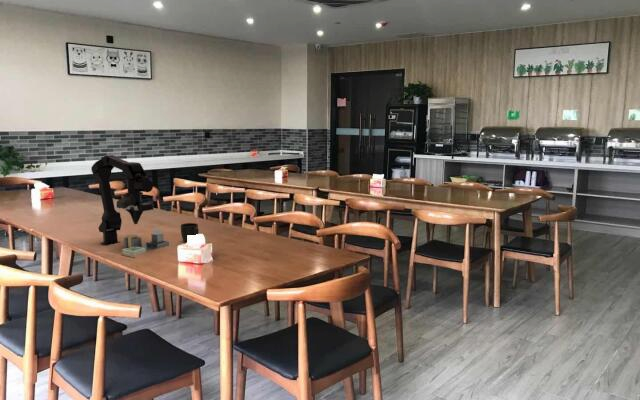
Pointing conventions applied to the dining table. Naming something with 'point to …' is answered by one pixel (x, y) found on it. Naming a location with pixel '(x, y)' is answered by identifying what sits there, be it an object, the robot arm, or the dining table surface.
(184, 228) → the mug
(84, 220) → the dining table surface
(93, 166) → the robot arm
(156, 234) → the grey block
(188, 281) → the dining table surface
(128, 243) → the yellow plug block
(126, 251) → the grey square frame
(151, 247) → the socket block
